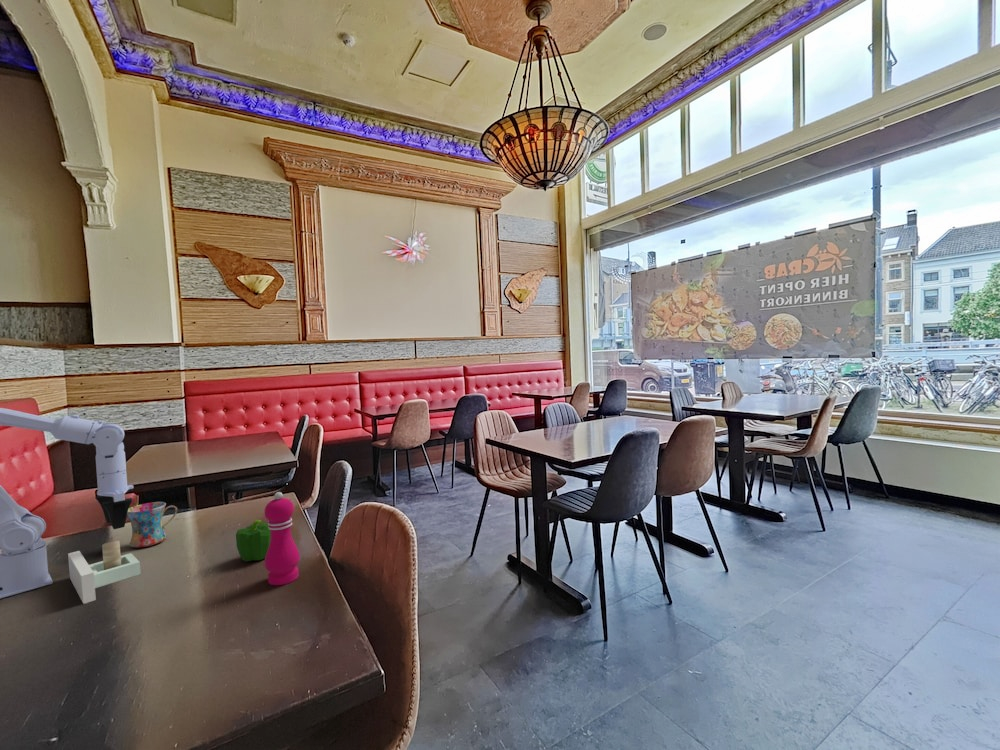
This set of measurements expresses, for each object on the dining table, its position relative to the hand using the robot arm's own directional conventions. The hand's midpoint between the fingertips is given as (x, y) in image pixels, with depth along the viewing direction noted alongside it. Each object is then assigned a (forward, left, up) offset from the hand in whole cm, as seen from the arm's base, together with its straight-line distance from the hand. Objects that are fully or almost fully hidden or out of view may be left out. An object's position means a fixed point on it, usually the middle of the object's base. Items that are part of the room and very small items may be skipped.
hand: (115, 524), depth 116 cm
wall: (-8, -9, -10) cm, 16 cm away
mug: (+10, +12, -11) cm, 19 cm away
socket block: (-2, -7, -10) cm, 13 cm away
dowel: (-2, -7, -10) cm, 13 cm away
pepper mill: (+22, -44, -11) cm, 50 cm away
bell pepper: (+23, -26, -11) cm, 36 cm away
